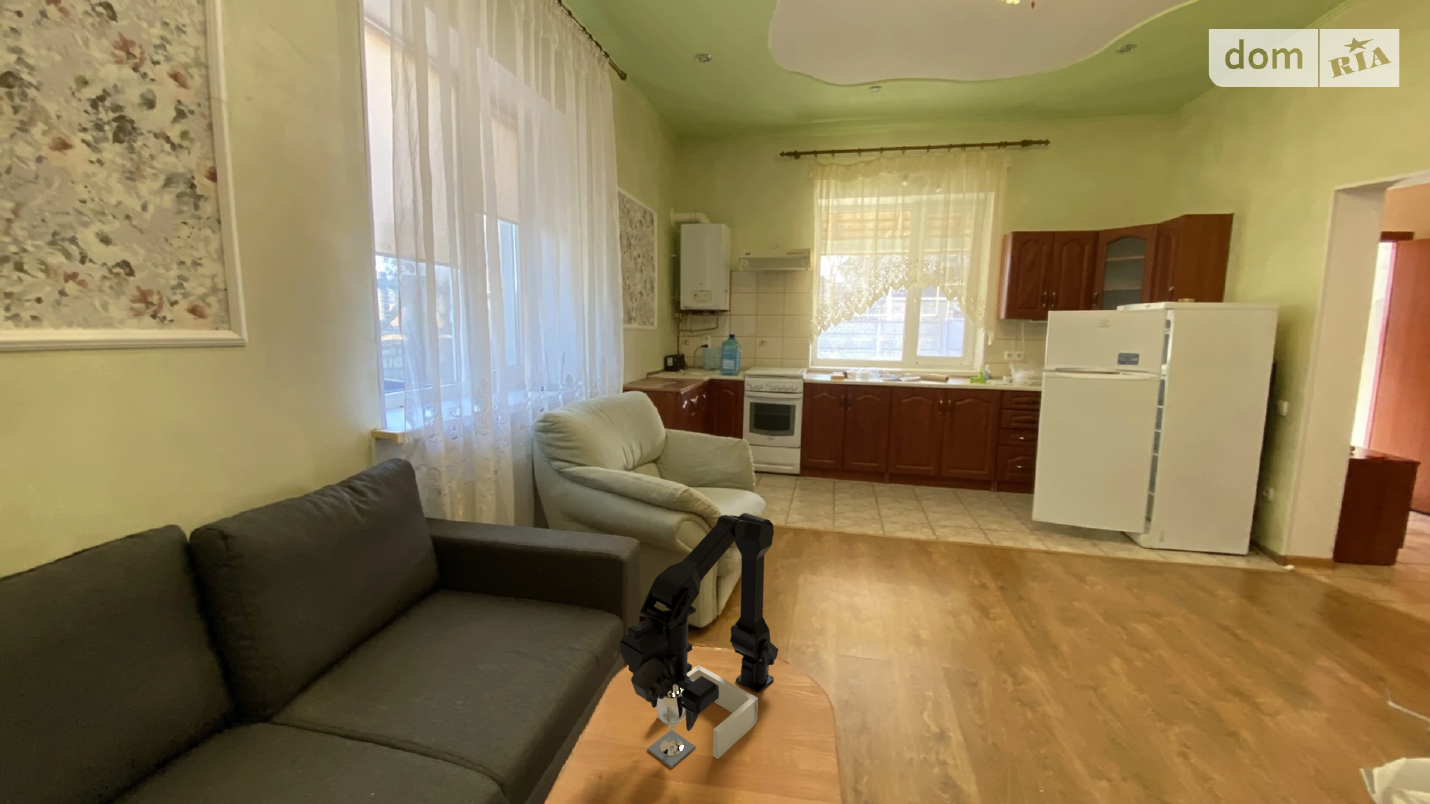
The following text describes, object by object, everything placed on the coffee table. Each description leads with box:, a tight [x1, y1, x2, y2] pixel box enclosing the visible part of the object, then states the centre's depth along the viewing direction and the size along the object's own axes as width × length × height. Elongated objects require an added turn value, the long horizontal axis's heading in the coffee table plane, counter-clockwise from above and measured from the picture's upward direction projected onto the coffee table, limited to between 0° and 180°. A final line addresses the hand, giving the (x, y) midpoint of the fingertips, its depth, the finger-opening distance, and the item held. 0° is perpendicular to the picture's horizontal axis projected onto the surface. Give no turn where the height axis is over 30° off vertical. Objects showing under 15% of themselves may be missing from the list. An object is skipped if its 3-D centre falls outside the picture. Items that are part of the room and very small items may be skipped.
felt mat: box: [646, 730, 696, 769], centre depth 103 cm, size 6×6×1 cm
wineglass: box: [656, 684, 686, 756], centre depth 102 cm, size 6×6×12 cm
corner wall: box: [656, 664, 759, 760], centre depth 111 cm, size 13×16×6 cm
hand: (671, 717), depth 102 cm, fingers open, 9 cm apart
